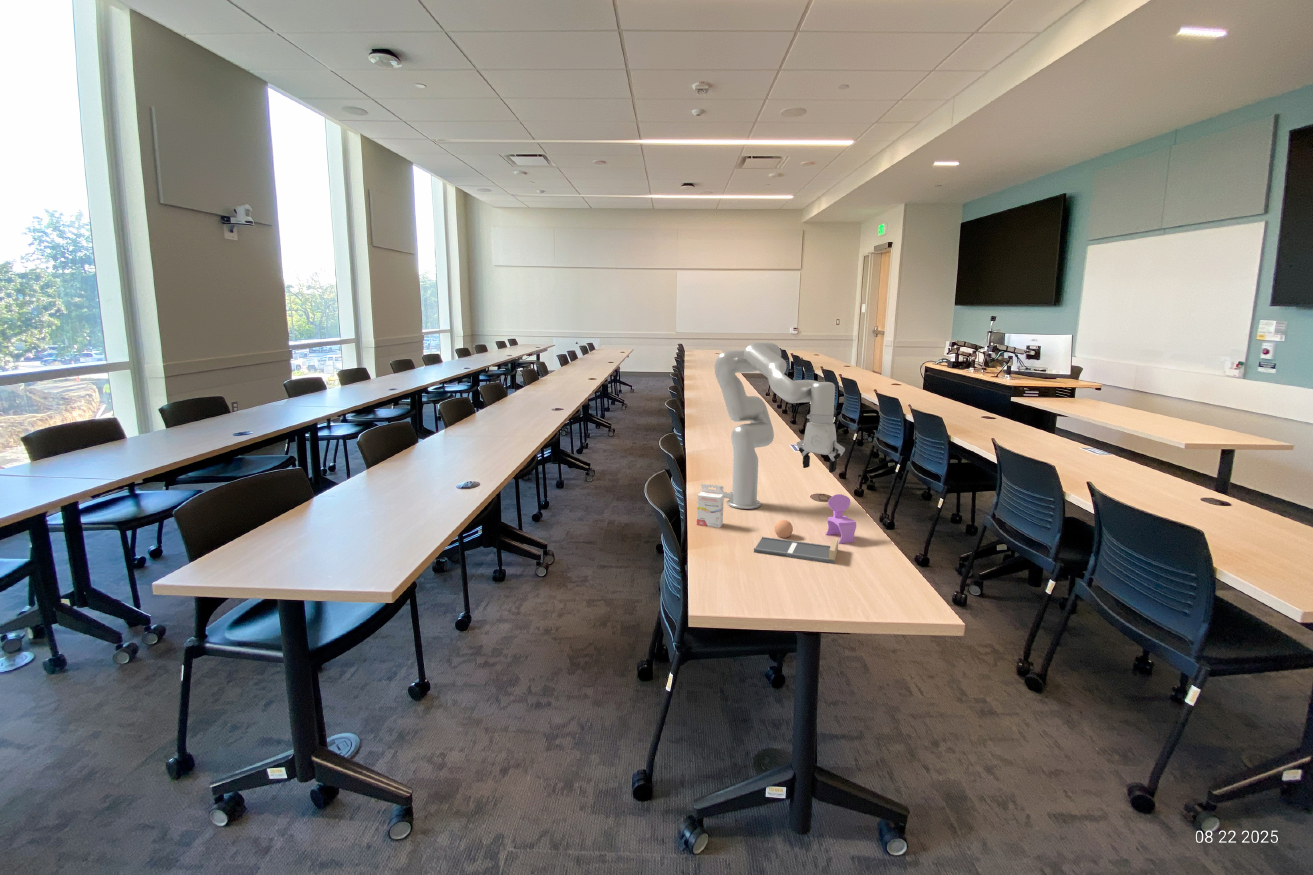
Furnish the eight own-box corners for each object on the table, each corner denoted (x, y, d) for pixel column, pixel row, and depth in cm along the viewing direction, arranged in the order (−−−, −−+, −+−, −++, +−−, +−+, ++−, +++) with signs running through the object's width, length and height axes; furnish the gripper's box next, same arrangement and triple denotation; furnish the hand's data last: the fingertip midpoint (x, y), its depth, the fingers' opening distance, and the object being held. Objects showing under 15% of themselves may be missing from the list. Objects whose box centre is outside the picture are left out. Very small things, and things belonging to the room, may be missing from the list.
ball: (772, 539, 198) (773, 521, 197) (775, 533, 203) (776, 516, 202) (790, 541, 196) (791, 523, 195) (793, 535, 201) (794, 518, 200)
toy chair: (836, 545, 192) (839, 500, 190) (821, 537, 201) (824, 493, 198) (858, 543, 195) (861, 499, 192) (843, 535, 203) (846, 492, 200)
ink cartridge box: (696, 527, 210) (697, 486, 207) (699, 523, 214) (700, 483, 212) (720, 529, 207) (721, 488, 204) (723, 525, 211) (724, 485, 209)
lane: (753, 552, 186) (754, 539, 185) (761, 540, 197) (762, 528, 196) (833, 563, 177) (834, 550, 176) (837, 550, 188) (838, 538, 187)
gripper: (792, 417, 202) (790, 467, 205) (840, 423, 190) (837, 475, 193) (804, 415, 207) (802, 464, 210) (851, 420, 195) (848, 472, 198)
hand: (819, 469), depth 201 cm, fingers open, 9 cm apart
